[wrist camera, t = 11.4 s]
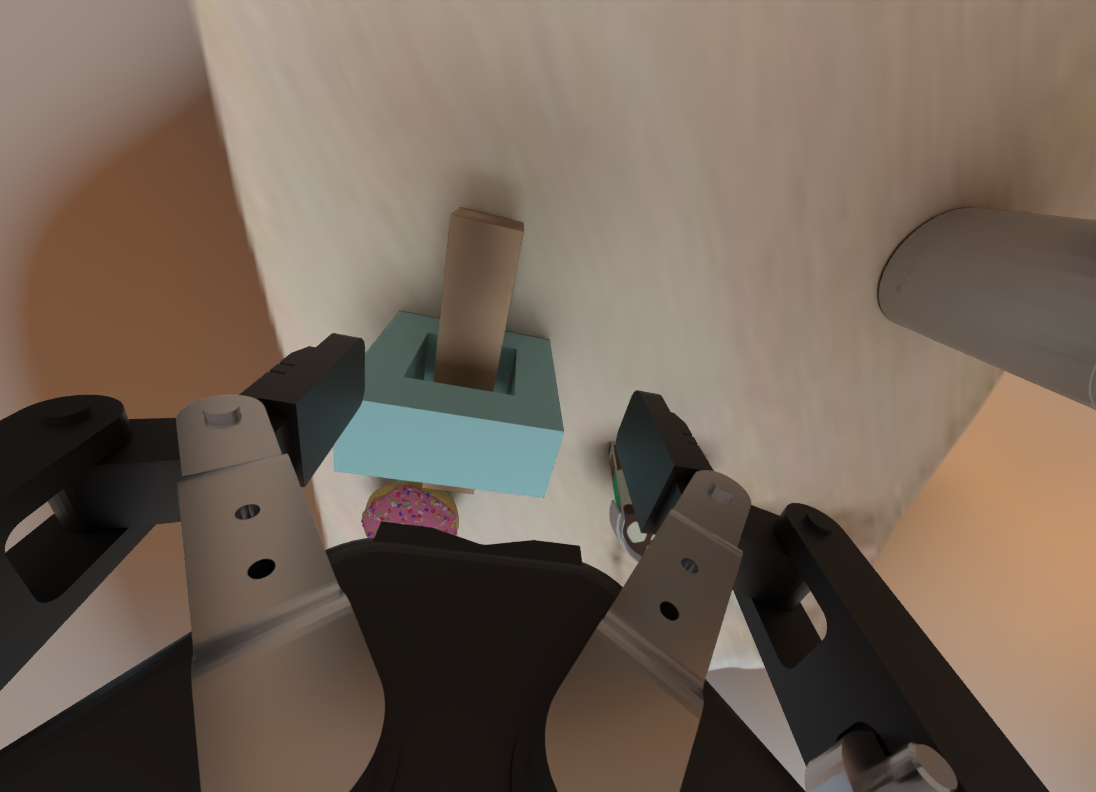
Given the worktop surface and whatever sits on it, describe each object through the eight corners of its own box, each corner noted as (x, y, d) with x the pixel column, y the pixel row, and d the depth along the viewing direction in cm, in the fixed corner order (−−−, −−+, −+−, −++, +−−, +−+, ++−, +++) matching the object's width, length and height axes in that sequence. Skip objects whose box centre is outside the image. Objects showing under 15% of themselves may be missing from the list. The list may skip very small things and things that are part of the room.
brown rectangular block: (523, 222, 26) (523, 232, 22) (478, 461, 35) (473, 494, 32) (460, 207, 25) (450, 214, 21) (432, 455, 35) (422, 487, 31)
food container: (581, 487, 42) (597, 572, 33) (595, 439, 38) (617, 520, 30) (691, 497, 43) (734, 581, 35) (713, 453, 40) (765, 533, 32)
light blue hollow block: (549, 339, 33) (564, 431, 22) (537, 391, 35) (544, 498, 24) (399, 311, 31) (330, 395, 20) (397, 367, 33) (334, 471, 22)
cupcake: (392, 441, 37) (343, 548, 27) (478, 469, 40) (462, 578, 29) (369, 502, 41) (317, 617, 31) (448, 525, 43) (425, 639, 33)
